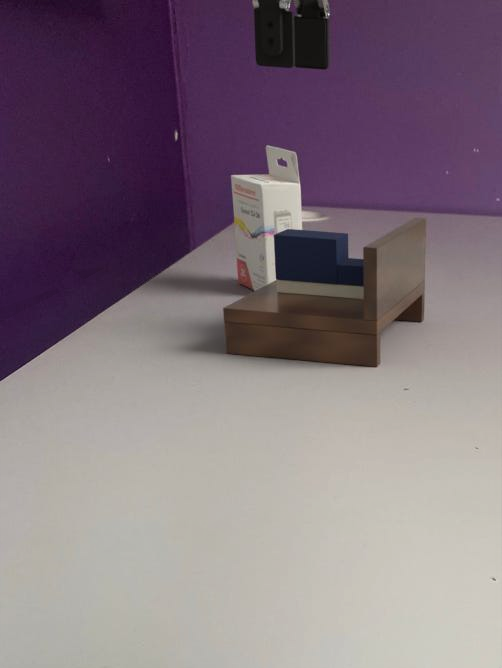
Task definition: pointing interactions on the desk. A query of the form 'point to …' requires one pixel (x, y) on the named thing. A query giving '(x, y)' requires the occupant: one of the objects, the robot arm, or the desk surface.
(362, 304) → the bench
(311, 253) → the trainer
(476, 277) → the desk surface
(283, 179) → the ink cartridge box
